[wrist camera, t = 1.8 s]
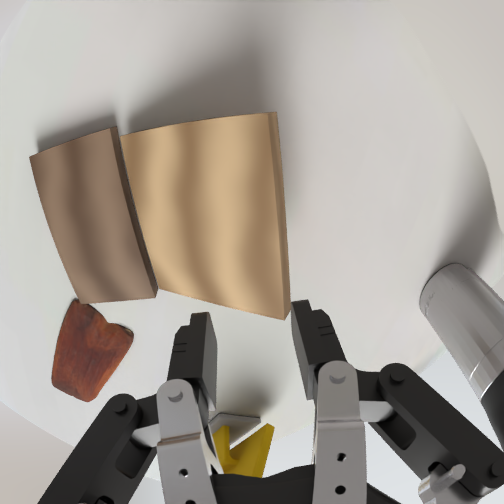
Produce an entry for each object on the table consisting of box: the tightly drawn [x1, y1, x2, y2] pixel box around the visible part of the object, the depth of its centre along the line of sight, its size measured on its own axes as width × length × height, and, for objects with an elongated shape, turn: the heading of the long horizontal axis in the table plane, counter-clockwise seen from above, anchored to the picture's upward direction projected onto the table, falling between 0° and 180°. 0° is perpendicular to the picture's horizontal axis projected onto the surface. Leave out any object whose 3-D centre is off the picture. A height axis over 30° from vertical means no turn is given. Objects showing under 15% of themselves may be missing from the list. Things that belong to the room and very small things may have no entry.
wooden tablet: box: [52, 300, 134, 402], centre depth 38 cm, size 27×10×2 cm, turn 142°
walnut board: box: [29, 126, 158, 304], centre depth 27 cm, size 10×18×2 cm, turn 6°
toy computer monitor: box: [209, 413, 274, 478], centre depth 41 cm, size 20×8×16 cm, turn 149°
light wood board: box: [120, 112, 291, 320], centre depth 24 cm, size 14×16×2 cm
